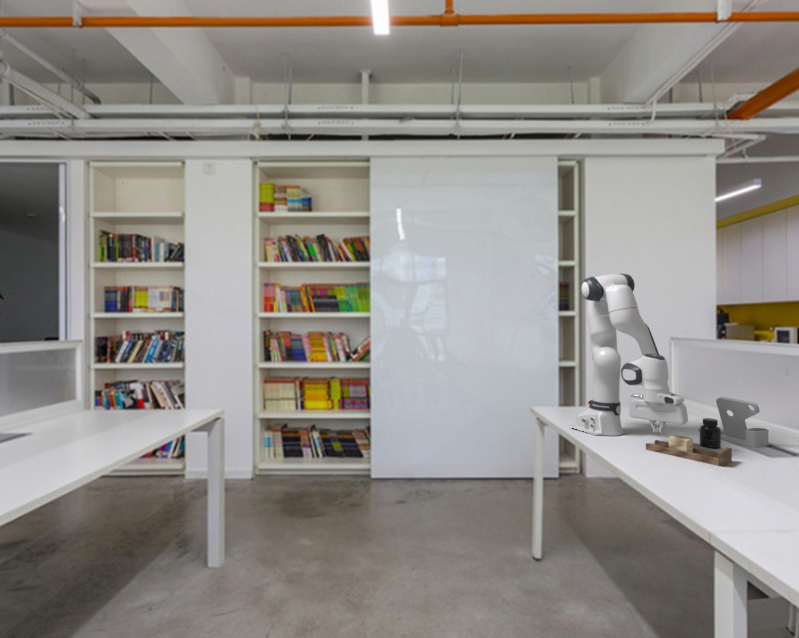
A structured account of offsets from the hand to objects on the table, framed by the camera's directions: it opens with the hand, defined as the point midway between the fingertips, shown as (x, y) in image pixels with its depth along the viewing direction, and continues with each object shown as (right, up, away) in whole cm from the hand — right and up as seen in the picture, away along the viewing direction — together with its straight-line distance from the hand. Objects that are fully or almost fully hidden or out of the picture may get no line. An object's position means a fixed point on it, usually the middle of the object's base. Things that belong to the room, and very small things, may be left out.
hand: (658, 432), depth 173 cm
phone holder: (+45, -8, +16) cm, 48 cm away
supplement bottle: (+23, -8, +4) cm, 25 cm away
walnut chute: (+6, -8, -7) cm, 12 cm away
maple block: (+5, -7, -6) cm, 10 cm away
